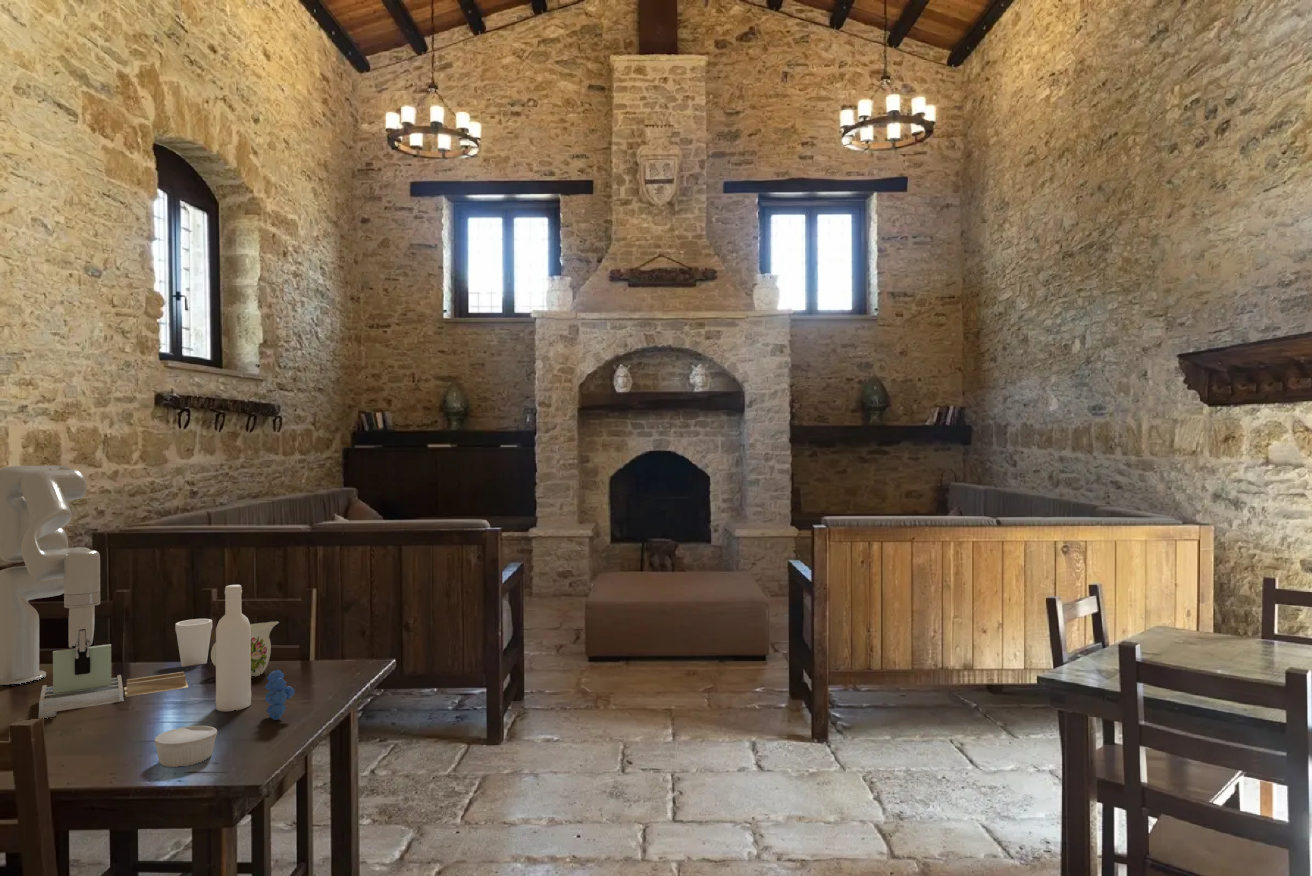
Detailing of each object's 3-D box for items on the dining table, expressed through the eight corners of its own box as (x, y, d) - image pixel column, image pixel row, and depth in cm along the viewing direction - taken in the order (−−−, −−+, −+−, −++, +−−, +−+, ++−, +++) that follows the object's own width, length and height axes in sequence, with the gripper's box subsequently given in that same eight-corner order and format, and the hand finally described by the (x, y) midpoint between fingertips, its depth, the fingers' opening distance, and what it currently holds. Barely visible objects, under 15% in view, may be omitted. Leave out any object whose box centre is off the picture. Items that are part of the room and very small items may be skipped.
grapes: (301, 722, 193) (301, 671, 193) (269, 728, 189) (269, 676, 189) (290, 710, 202) (290, 660, 202) (260, 715, 198) (259, 665, 198)
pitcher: (205, 677, 231) (204, 628, 232) (271, 665, 244) (271, 618, 244) (217, 685, 224) (217, 634, 224) (285, 672, 236) (285, 624, 236)
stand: (124, 692, 217) (124, 677, 217) (185, 684, 225) (185, 669, 225) (125, 702, 209) (125, 686, 209) (188, 692, 217) (188, 677, 217)
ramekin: (227, 749, 176) (227, 724, 176) (199, 769, 165) (199, 743, 165) (173, 750, 176) (173, 725, 176) (142, 770, 165) (142, 744, 165)
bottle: (236, 712, 200) (236, 588, 201) (207, 710, 202) (207, 588, 202) (258, 702, 208) (258, 583, 209) (231, 700, 210) (230, 582, 210)
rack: (42, 701, 211) (42, 685, 211) (121, 689, 220) (121, 674, 221) (38, 720, 196) (38, 703, 196) (123, 706, 206) (123, 690, 206)
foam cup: (184, 672, 238) (184, 626, 238) (170, 667, 243) (169, 622, 243) (218, 664, 245) (217, 621, 245) (203, 660, 251) (203, 617, 251)
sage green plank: (53, 691, 206) (53, 651, 206) (111, 683, 212) (110, 644, 213) (53, 693, 204) (52, 652, 204) (111, 684, 211) (111, 645, 211)
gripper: (64, 596, 213) (65, 668, 213) (63, 606, 200) (63, 682, 200) (99, 593, 217) (100, 663, 217) (100, 602, 204) (100, 677, 204)
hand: (82, 672), depth 208 cm, fingers closed on sage green plank, 2 cm apart
